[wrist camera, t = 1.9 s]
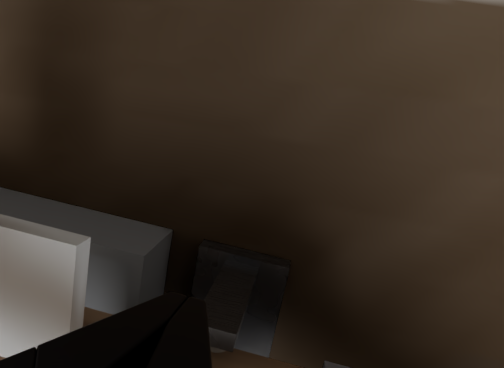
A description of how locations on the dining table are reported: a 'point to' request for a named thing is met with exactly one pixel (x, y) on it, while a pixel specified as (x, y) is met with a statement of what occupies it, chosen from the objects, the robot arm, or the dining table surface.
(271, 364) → the chute
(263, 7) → the dining table surface
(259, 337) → the stand
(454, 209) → the dining table surface
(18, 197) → the bin
